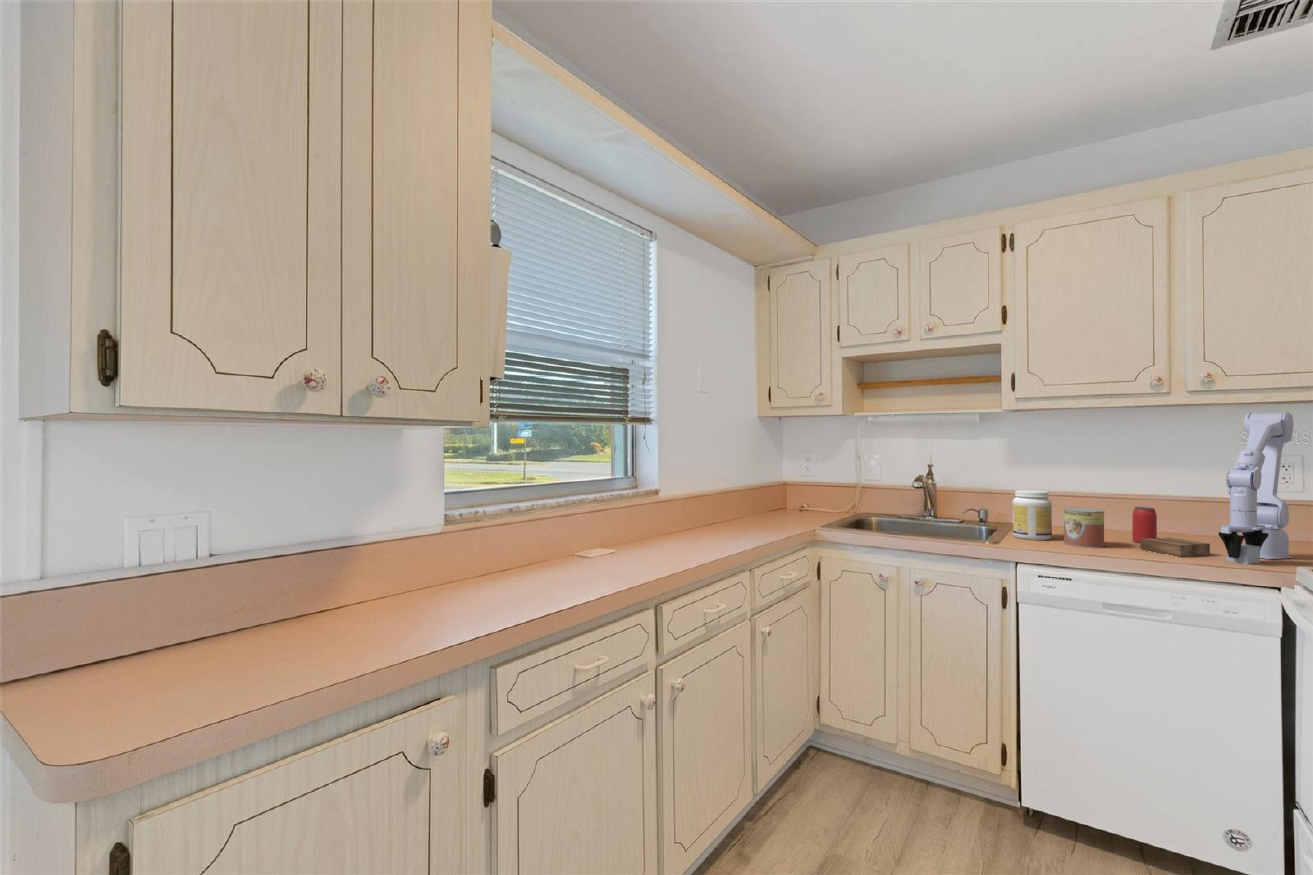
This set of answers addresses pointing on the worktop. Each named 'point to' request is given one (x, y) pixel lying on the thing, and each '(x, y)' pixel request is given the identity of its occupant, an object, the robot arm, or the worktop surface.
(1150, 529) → the beer can
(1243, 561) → the slate cube
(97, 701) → the worktop surface
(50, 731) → the worktop surface
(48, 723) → the worktop surface
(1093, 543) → the canned food
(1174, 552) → the walnut block
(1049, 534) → the supplement tub
